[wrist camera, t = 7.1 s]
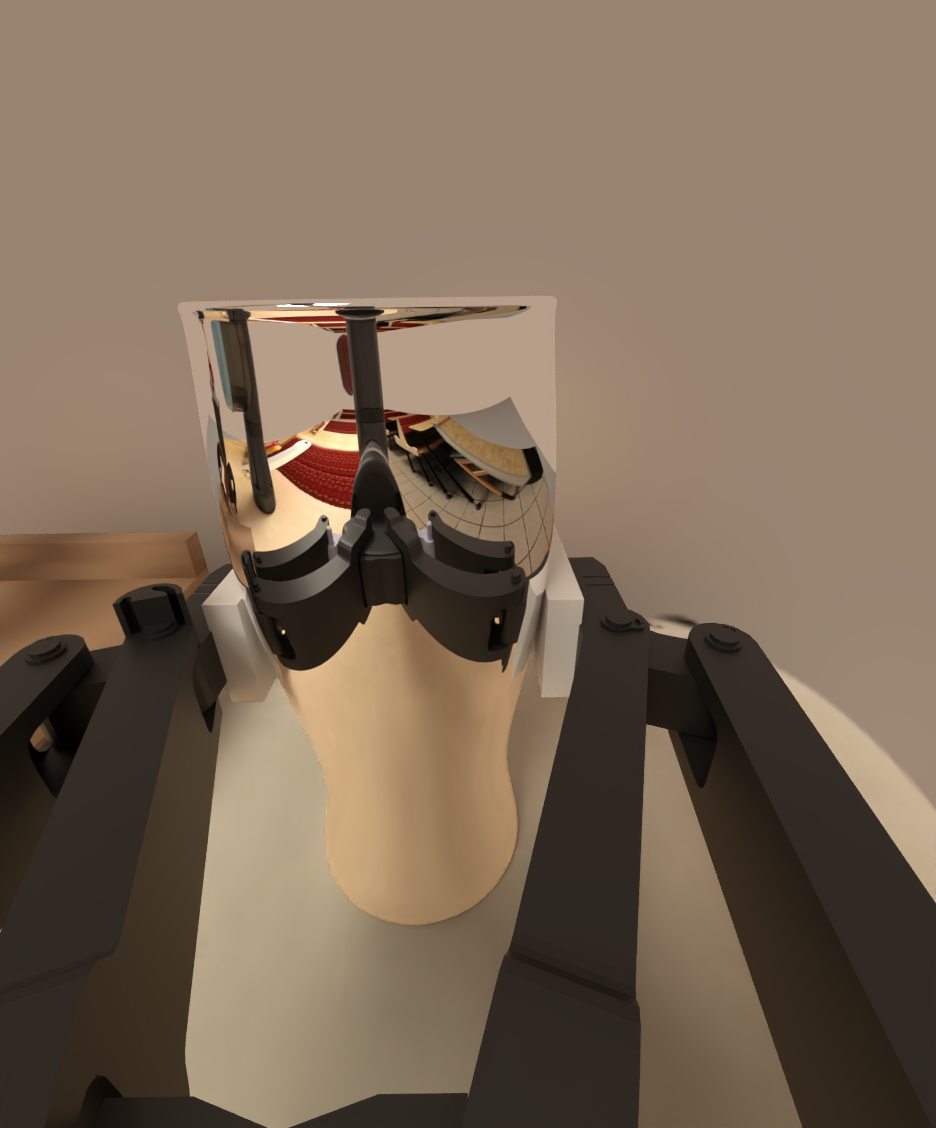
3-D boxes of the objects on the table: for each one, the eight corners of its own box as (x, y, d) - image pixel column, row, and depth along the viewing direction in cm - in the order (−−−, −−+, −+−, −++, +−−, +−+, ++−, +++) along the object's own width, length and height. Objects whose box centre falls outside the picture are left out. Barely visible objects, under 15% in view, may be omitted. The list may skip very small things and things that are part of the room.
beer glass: (549, 765, 18) (590, 295, 11) (499, 988, 12) (520, 295, 5) (376, 722, 20) (318, 300, 13) (262, 897, 14) (47, 304, 7)
